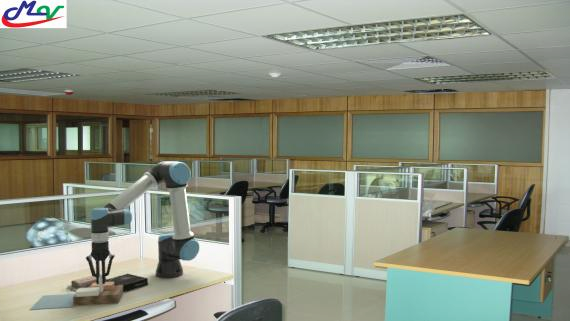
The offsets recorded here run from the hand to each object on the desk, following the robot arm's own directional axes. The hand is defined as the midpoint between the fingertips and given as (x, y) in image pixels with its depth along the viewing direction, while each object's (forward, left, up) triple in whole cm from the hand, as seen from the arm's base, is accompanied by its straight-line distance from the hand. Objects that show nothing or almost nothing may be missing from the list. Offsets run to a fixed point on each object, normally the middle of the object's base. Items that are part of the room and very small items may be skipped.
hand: (101, 290), depth 231 cm
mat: (+21, -5, -5) cm, 22 cm away
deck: (+2, -4, -5) cm, 7 cm away
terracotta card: (+1, -8, -1) cm, 8 cm away
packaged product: (+11, -28, -6) cm, 31 cm away
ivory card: (+6, 0, -1) cm, 6 cm away
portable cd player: (-7, -24, -6) cm, 25 cm away
